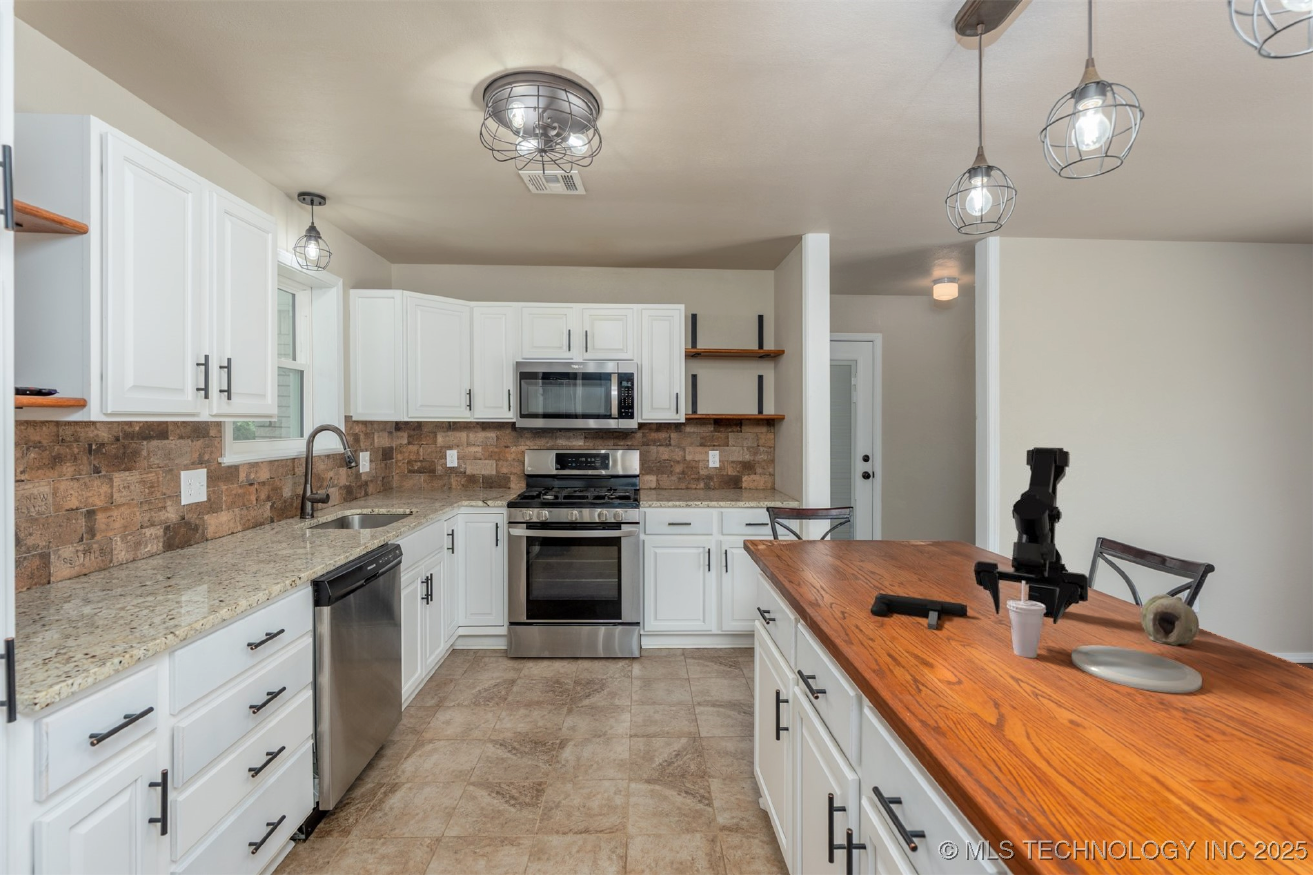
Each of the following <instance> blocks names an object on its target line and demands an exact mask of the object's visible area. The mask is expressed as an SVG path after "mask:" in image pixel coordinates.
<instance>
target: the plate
mask: <svg viewBox="0 0 1313 875" xmlns="http://www.w3.org/2000/svg"><path fill="white" fill-rule="evenodd" d="M1071 662H1072V663H1073V664H1074V665H1075V666H1076V667H1077V668H1078V669H1080V670H1082V671H1084V672H1086V673H1087V674H1089V675H1092V676H1095V678H1099V679H1102V680H1105V681H1108V682H1111V683H1114V684H1118V685H1122V686H1124V687H1129V688H1133V689H1139V690H1144V691H1150V692H1156V693H1165V694H1166V693H1169V694H1188V693H1194V692H1197V691H1199V690H1200V689H1202V686H1203V677H1202V675H1201V674H1200V672H1198V671H1197V670H1195V669H1194V668H1192V667H1190V666H1189V665H1186V664H1184V663H1182V662H1180V661H1176V660H1174V659H1171V658H1169V657H1165V656H1162V655H1160V654H1159V655H1158V654H1155V653H1153V652H1152V653H1151V652H1149V651H1144V650H1138V649H1133V648H1132V649H1131V648H1127V647H1121V646H1112V645H1096V644H1093V645H1092V644H1091V645H1082V646H1078V647H1075V648H1073V649H1072V651H1071Z"/></svg>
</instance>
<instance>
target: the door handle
mask: <svg viewBox="0 0 1313 875" xmlns="http://www.w3.org/2000/svg"><path fill="white" fill-rule="evenodd" d="M869 611H870V613H871V615H872V616H875V617H880V618H881V617H886V616H887V615H888V613H890V614H894V615H904V616H910V617H916V618H917V617H918V618H924V619H927V623H926V624H927V625H926V626H927V627H926V628H927V630H933V631H936V629H937V625H938V622H939V621H941V619H942V615H945V616H953V617H961V618H963V617H967V616H968V605H967V604H964V603H962V602H961V603H960V602H955V601H954V602H953V601H945V600H939V599H938V600H937V599H930V598H921V597H914V596H907V595H899V594H898V595H897V594H891V593H883V592H879V593H877V594H876V595H875V597H874V601H873V604H872V606H871V608H870V610H869Z"/></svg>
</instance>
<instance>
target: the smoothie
mask: <svg viewBox="0 0 1313 875" xmlns="http://www.w3.org/2000/svg"><path fill="white" fill-rule="evenodd" d="M1006 607H1007V609H1008V614H1009V623H1010V628H1011V629H1010V630H1011V638H1012V646H1013V653H1014V654H1015V655H1017V656H1019V657H1022V658H1027V659H1032V658H1033V659H1034V658H1037V657H1038V652H1039V651H1038V650H1039V644H1040V638H1041V634H1042V633H1041V632H1042V626H1043V622H1044V613H1045V612H1046V606H1045V605H1043V604H1041V603H1039V602H1035V601H1030V600H1028V599H1026V585H1025V581H1022V583H1021V599H1020V598H1013V599H1012V598H1011V599H1008V600H1006Z"/></svg>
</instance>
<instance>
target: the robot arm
mask: <svg viewBox="0 0 1313 875" xmlns="http://www.w3.org/2000/svg"><path fill="white" fill-rule="evenodd" d="M1070 455H1071V454H1070V452H1069V451H1068V450H1064V447H1042V446H1041V447H1039V446H1037V447H1036V446H1035V447H1033V448H1032V449H1028V450H1026V458H1025V459H1026V464H1025V465H1026V466H1027V467H1029V469H1030V477H1029V482H1028V483H1029V484H1028V489H1027V490H1026V491H1024V492H1022V493H1021V494H1020V496H1019V499H1018V500H1016V501H1015V502H1014V503H1013V505H1012V510H1011V511H1012V512H1011V513H1012V519H1014V524H1015V529H1016V531H1017V540H1016V541H1014V542H1013V546H1012V547H1013V549H1012V555H1011V556H1012V558H1011V568H1013V571H1011V570H1004V569H999V563H998V562H993V561H985V560H984V561H983V560H978V561H976V562H975V563H974V567H973V573H974V577H975V583H976V585H977V586H979V587H982V588H983V590H984V591H988V592H989V594H990V596H991V599H992V601H993V605H994V609H995V614H996V615H1000V611H1001V596H1000V595H1001V590H1000V581H1004V582H1011V583H1018V584H1022V581H1025V586H1026V585H1027V586H1028V592H1027V600H1030V601H1035V602H1039V603H1041V604H1043V605H1045V606H1046V612H1045V613H1044V615H1043V617H1044V616H1045V617H1048V616H1051V617H1053V619H1052V622H1053V625H1056V624H1057V623H1058V622H1059V621H1060V619H1061V618H1062V616H1063V615H1064V613H1065V614H1066V611H1067V610H1068V609H1069V608H1070V607H1071V606H1072V605H1073V604H1075V605H1078V604H1080V602H1088V600H1089V577H1088V576H1087V575H1086V574H1085V573H1081V572H1073V571H1069V569H1068V568H1067V566H1066V563H1063V557H1062V555H1061V553H1060V552H1059V550H1058V549H1057V546H1056V525H1057V524H1059V523H1060V520H1061V519H1062V517H1063V514H1062V513H1063V512H1062V511H1061V509H1060V507H1059V506H1057V503H1058V502H1057V500H1058V499H1057V498H1058V485H1059V484H1060V483H1061V482H1062V480H1063V479H1064V478H1065V477H1066V472H1067V468H1069V467H1070V464H1071V463H1070V460H1071V458H1070Z"/></svg>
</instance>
